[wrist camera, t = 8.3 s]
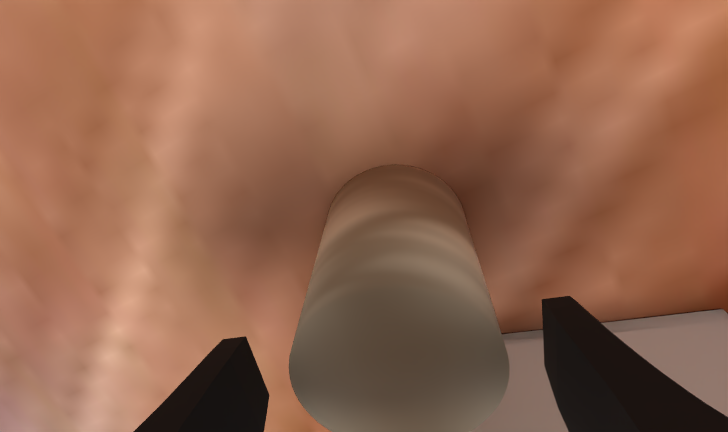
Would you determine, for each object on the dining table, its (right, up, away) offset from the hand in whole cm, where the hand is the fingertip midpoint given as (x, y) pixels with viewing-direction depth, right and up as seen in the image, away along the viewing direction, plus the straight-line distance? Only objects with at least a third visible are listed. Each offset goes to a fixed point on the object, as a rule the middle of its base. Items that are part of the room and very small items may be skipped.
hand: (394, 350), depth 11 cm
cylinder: (0, +3, +5) cm, 6 cm away
